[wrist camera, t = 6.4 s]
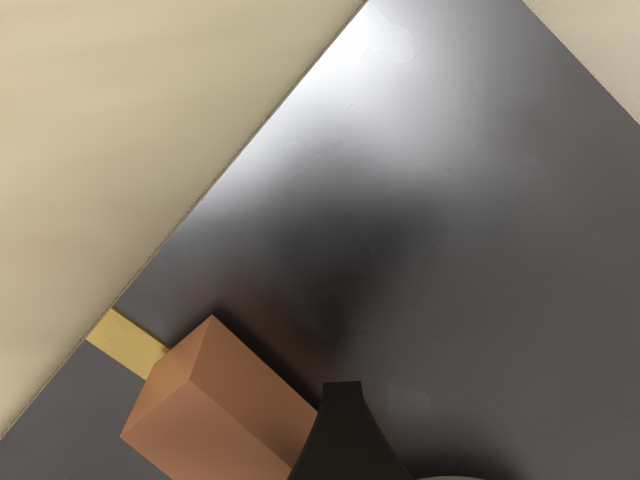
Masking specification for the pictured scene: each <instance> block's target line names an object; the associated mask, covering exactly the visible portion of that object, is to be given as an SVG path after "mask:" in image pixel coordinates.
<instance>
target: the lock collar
mask: <svg viewBox="0 0 640 480" xmlns="http://www.w3.org/2000/svg"><path fill="white" fill-rule="evenodd" d="M317 414H318V412H317V411H316V410H315V409H314V408H313V407H312V406H311V405H310V404H309V403H307V402H306V401H305V400H304V399H303V398H302V397H301V396H300V395H299V394H298V393H297V392H296V391H294V390H293V389H292V388H291V387H290V386H289V385H288V384H287V383H286V382H285V381H284V380H283V379H281V378H280V377H279V376H278V375H277V374H276V373H275V372H274V371H273V370H272V369H271V368H270V367H269V366H267V365H266V364H265V363H264V362H263V361H262V360H261V359H260V358H259V357H258V356H257V355H256V354H254V353H253V352H252V351H251V350H250V349H249V348H248V347H247V346H246V345H245V344H244V343H243V342H242V341H240V340H239V339H238V338H237V337H236V336H235V335H234V334H233V333H232V332H231V331H230V330H229V329H227V328H226V327H225V326H224V325H223V324H222V323H221V322H220V321H219V320H218V319H217V318H216V317H215V316H213V315H211V316H210V317H208V318H207V319H206V320H205V321H204V322H203V323H201V324H200V325H199V326H198V327H197V328H196V329H194V330H193V331H192V332H191V333H190V334H189V335H187V336H186V337H185V338H184V339H183V340H182V341H180V342H179V343H178V344H177V345H176V346H175V347H173V348H172V349H171V350H170V351H169V352H168V353H166V354H165V355H164V356H163V357H162V358H161V359H159V360H158V361H157V362H156V363H155V364H154V365H153V367H152V369H151V372H150V374H149V376H148V378H147V380H146V382H145V384H144V386H143V388H142V390H141V393H140V395H139V397H138V399H137V401H136V403H135V405H134V407H133V409H132V411H131V414H130V416H129V418H128V420H127V422H126V424H125V426H124V428H123V430H122V432H121V434H120V438H121V439H123V440H124V441H125V442H126V443H128V444H129V445H130V446H131V447H133V448H134V449H135V450H136V451H138V452H139V453H140V454H141V455H143V456H144V457H145V458H146V459H148V460H149V461H150V462H151V463H153V464H154V465H155V466H156V467H158V468H159V469H160V470H161V471H163V472H164V473H165V474H166V475H168V476H169V477H170V478H171V479H172V480H287V478H288V476H289V474H290V472H291V470H292V469H293V467H294V465H295V463H296V461H297V459H298V457H299V455H300V453H301V451H302V449H303V447H304V445H305V442H306V440H307V438H308V436H309V433H310V431H311V429H312V427H313V424H314V421H315V419H316V416H317ZM418 480H483V479H478V478H473V477H462V476H438V477H430V478H422V479H418Z"/></svg>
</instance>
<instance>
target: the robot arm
mask: <svg viewBox="0 0 640 480" xmlns="http://www.w3.org/2000/svg"><path fill="white" fill-rule="evenodd" d="M287 480H414V479H413V477H412V476H411V475H410V473H409V472H408V471H407V469H406V468H405V467H404V465H403V464H402V462H401V461H400V459H399V458H398V457H397V455H396V454H395V452H394V450H393V449H392V447H391V446H390V444H389V443H388V441H387V439H386V438H385V436H384V435H383V433H382V431H381V430H380V428H379V426H378V425H377V423H376V421H375V419H374V417H373V415H372V413H371V412H370V410H369V407H368V405H367V403H366V401H365V399H364V396H363V391H362V385H361V381H345V382H325V383H323V397H322V401H321V404H320V408H319V411H318V414H317V416H316V419H315V421H314V424H313V427H312V429H311V431H310V433H309V436H308V438H307V440H306V442H305V445H304V447H303V449H302V451H301V453H300V455H299V457H298V459H297V461H296V463H295V465H294V467H293V469H292V470H291V472H290V474H289V476H288V478H287Z"/></svg>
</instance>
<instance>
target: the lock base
mask: <svg viewBox="0 0 640 480" xmlns="http://www.w3.org/2000/svg"><path fill="white" fill-rule="evenodd" d="M211 315H213V316H215V317H216V318H217V319H218V320H219V321H220V322H221V323H222V324H223V325H224V326H225V327H226V328H227V329H229V330H230V331H231V332H232V333H233V334H234V335H235V336H236V337H237V338H238V339H239V340H240V341H242V342H243V343H244V344H245V345H246V346H247V347H248V348H249V349H250V350H251V351H252V352H253V353H254V354H256V355H257V356H258V357H259V358H260V359H261V360H262V361H263V362H264V363H265V364H266V365H267V366H269V367H270V368H271V369H272V370H273V371H274V372H275V373H276V374H277V375H278V376H279V377H280V378H281V379H283V380H284V381H285V382H286V383H287V384H288V385H289V386H290V387H291V388H292V389H293V390H294V391H296V392H297V393H298V394H299V395H300V396H301V397H302V398H303V399H304V400H305V401H306V402H307V403H309V404H310V405H311V406H312V407H313V408H314V409H315V410H316V411H317V412H318V411H319V408H320V404H321V401H322V397H323V383H325V382H345V381H361V385H362V391H363V396H364V399H365V401H366V403H367V405H368V407H369V410H370V412H371V413H372V415H373V417H374V419H375V421H376V423H377V425H378V426H379V428H380V430H381V431H382V433H383V435H384V436H385V438H386V439H387V441H388V443H389V444H390V446H391V447H392V449H393V450H394V452H395V454H396V455H397V457H398V458H399V459H400V461H401V462H402V464H403V465H404V467H405V468H406V469H407V471H408V472H409V473H410V475H411V476H412V477H413V479H414V480H418V479H422V478H430V477H438V476H462V477H473V478H478V479H483V480H640V125H639V124H638V123H637V122H636V121H635V120H634V119H633V118H632V117H631V116H630V115H629V114H628V112H627V111H626V110H625V109H624V108H623V107H622V106H621V105H620V104H619V103H618V102H617V101H616V100H615V99H614V98H613V97H612V96H611V95H610V93H609V92H608V91H607V90H606V89H605V88H604V87H603V86H602V85H601V84H600V83H599V82H598V81H597V80H596V79H595V78H594V77H593V75H592V74H591V73H590V72H589V71H588V70H587V69H586V68H585V67H584V66H583V65H582V64H581V63H580V62H579V61H578V60H577V59H576V57H575V56H574V55H573V54H572V53H571V52H570V51H569V50H568V49H567V48H566V47H565V46H564V45H563V44H562V43H561V42H560V41H559V39H558V38H557V37H556V36H555V35H554V34H553V33H552V32H551V31H550V30H549V29H548V28H547V27H546V26H545V25H544V24H543V23H542V21H541V20H540V19H539V18H538V17H537V16H536V15H535V14H534V13H533V12H532V11H531V10H530V9H529V8H528V7H527V6H526V5H525V3H524V2H523V1H522V0H365V1H364V2H363V3H362V4H361V6H360V7H359V8H358V9H357V10H356V11H355V13H354V14H353V15H352V16H351V17H350V19H349V20H348V21H347V22H346V23H345V25H344V26H343V27H342V28H341V29H340V31H339V32H338V33H337V34H336V35H335V37H334V38H333V39H332V40H331V41H330V43H329V44H328V45H327V46H326V47H325V49H324V50H323V51H322V52H321V53H320V55H319V56H318V57H317V58H316V59H315V61H314V62H313V63H312V64H311V65H310V67H309V68H308V69H307V70H306V71H305V73H304V74H303V75H302V76H301V77H300V79H299V80H298V81H297V82H296V83H295V85H294V86H293V87H292V88H291V89H290V91H289V92H288V93H287V94H286V95H285V97H284V98H283V99H282V100H281V101H280V103H279V104H278V105H277V106H276V107H275V109H274V110H273V111H272V112H271V113H270V115H269V116H268V117H267V118H266V119H265V120H264V122H263V123H262V124H261V125H260V126H259V128H258V129H257V130H256V131H255V132H254V134H253V135H252V136H251V137H250V138H249V140H248V141H247V142H246V143H245V144H244V146H243V147H242V148H241V149H240V150H239V152H238V153H237V154H236V155H235V156H234V158H233V159H232V160H231V161H230V162H229V164H228V165H227V166H226V167H225V168H224V170H223V171H222V172H221V173H220V174H219V176H218V177H217V178H216V179H215V180H214V182H213V183H212V184H211V185H210V186H209V188H208V189H207V190H206V191H205V192H204V194H203V195H202V196H201V197H200V198H199V200H198V201H197V202H196V203H195V204H194V206H193V207H192V208H191V209H190V210H189V212H188V213H187V214H186V215H185V216H184V218H183V219H182V220H181V221H180V222H179V224H178V225H177V226H176V227H175V228H174V230H173V231H172V232H171V233H170V234H169V235H168V237H167V238H166V239H165V240H164V241H163V243H162V244H161V245H160V246H159V247H158V249H157V250H156V251H155V252H154V253H153V255H152V256H151V257H150V258H149V259H148V261H147V262H146V263H145V264H144V265H143V267H142V268H141V269H140V270H139V271H138V273H137V274H136V275H135V276H134V277H133V279H132V280H131V281H130V282H129V283H128V285H127V286H126V287H125V288H124V289H123V291H122V292H121V293H120V294H119V295H118V297H117V298H116V299H115V300H114V301H113V303H112V304H111V305H110V306H109V307H108V309H107V310H106V311H105V312H104V313H103V315H102V316H101V317H100V318H99V319H98V321H97V322H96V323H95V324H94V325H93V327H92V328H91V329H90V330H89V331H88V333H87V334H86V335H85V336H84V337H83V339H82V340H81V341H80V342H79V343H78V345H77V346H76V347H75V348H74V349H73V350H72V352H71V353H70V354H69V355H68V356H67V358H66V359H65V360H64V361H63V362H62V364H61V365H60V366H59V367H58V368H57V370H56V371H55V372H54V373H53V374H52V376H51V377H50V378H49V379H48V380H47V382H46V383H45V384H44V385H43V386H42V388H41V389H40V390H39V391H38V392H37V394H36V395H35V396H34V397H33V398H32V400H31V401H30V402H29V403H28V404H27V406H26V407H25V408H24V409H23V410H22V412H21V413H20V414H19V415H18V416H17V418H16V419H15V420H14V421H13V422H12V424H11V425H10V426H9V427H8V428H7V430H6V431H5V432H4V433H3V434H2V436H1V437H0V480H172V479H171V478H170V477H169V476H168V475H166V474H165V473H164V472H163V471H161V470H160V469H159V468H158V467H156V466H155V465H154V464H153V463H151V462H150V461H149V460H148V459H146V458H145V457H144V456H143V455H141V454H140V453H139V452H138V451H136V450H135V449H134V448H133V447H131V446H130V445H129V444H128V443H126V442H125V441H124V440H123V439H121V438H120V434H121V432H122V430H123V428H124V426H125V424H126V422H127V420H128V418H129V416H130V414H131V411H132V409H133V407H134V405H135V403H136V401H137V399H138V397H139V395H140V393H141V390H142V388H143V386H144V384H145V382H146V380H147V378H148V376H149V374H150V372H151V369H152V367H153V365H154V364H155V363H156V362H157V361H158V360H159V359H161V358H162V357H163V356H164V355H165V354H166V353H168V352H169V351H170V350H171V349H172V348H173V347H175V346H176V345H177V344H178V343H179V342H180V341H182V340H183V339H184V338H185V337H186V336H187V335H189V334H190V333H191V332H192V331H193V330H194V329H196V328H197V327H198V326H199V325H200V324H201V323H203V322H204V321H205V320H206V319H207V318H208V317H210V316H211Z"/></svg>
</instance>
